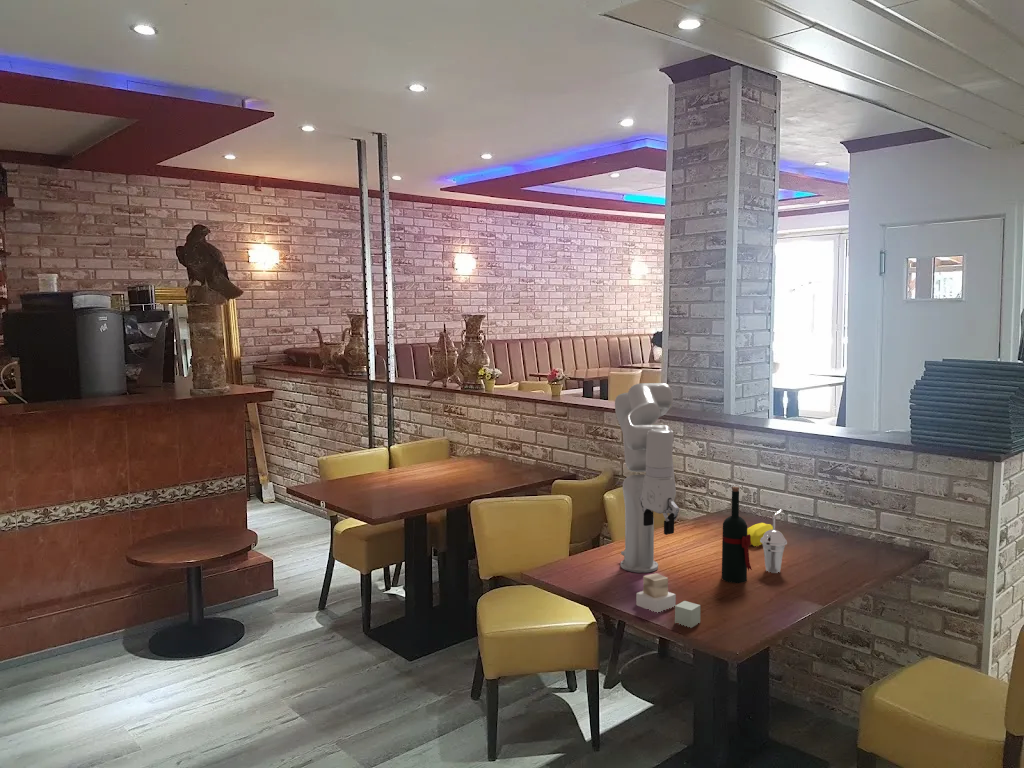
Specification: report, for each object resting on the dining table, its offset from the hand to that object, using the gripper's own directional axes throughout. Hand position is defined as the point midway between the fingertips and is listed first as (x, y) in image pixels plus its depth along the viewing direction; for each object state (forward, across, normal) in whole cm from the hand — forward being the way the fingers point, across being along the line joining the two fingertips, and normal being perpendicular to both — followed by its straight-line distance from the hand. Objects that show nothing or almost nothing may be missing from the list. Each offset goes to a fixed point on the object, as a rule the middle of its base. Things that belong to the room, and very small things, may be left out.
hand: (658, 529), depth 217 cm
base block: (+23, +1, -1) cm, 23 cm away
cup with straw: (+23, -6, +52) cm, 57 cm away
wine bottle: (+23, -4, +35) cm, 42 cm away
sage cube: (+22, +15, -1) cm, 27 cm away
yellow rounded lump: (+24, -32, +70) cm, 81 cm away
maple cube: (+19, +1, -2) cm, 19 cm away
